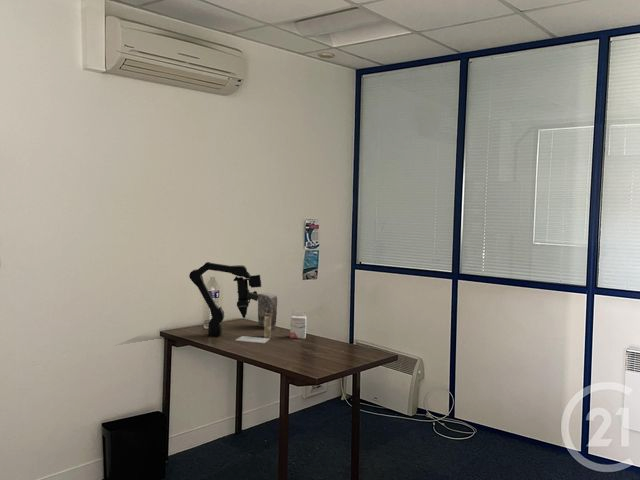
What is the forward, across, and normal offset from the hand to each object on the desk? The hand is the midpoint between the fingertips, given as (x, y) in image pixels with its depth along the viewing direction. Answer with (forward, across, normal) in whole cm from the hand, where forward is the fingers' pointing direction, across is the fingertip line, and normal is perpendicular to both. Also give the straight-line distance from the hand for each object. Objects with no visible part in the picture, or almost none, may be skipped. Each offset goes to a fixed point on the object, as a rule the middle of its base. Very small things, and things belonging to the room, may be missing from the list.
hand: (244, 316), depth 341 cm
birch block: (+13, 0, -12) cm, 17 cm away
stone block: (+13, +25, -10) cm, 30 cm away
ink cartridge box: (+14, +1, -28) cm, 32 cm away
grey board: (+12, -8, -4) cm, 15 cm away
